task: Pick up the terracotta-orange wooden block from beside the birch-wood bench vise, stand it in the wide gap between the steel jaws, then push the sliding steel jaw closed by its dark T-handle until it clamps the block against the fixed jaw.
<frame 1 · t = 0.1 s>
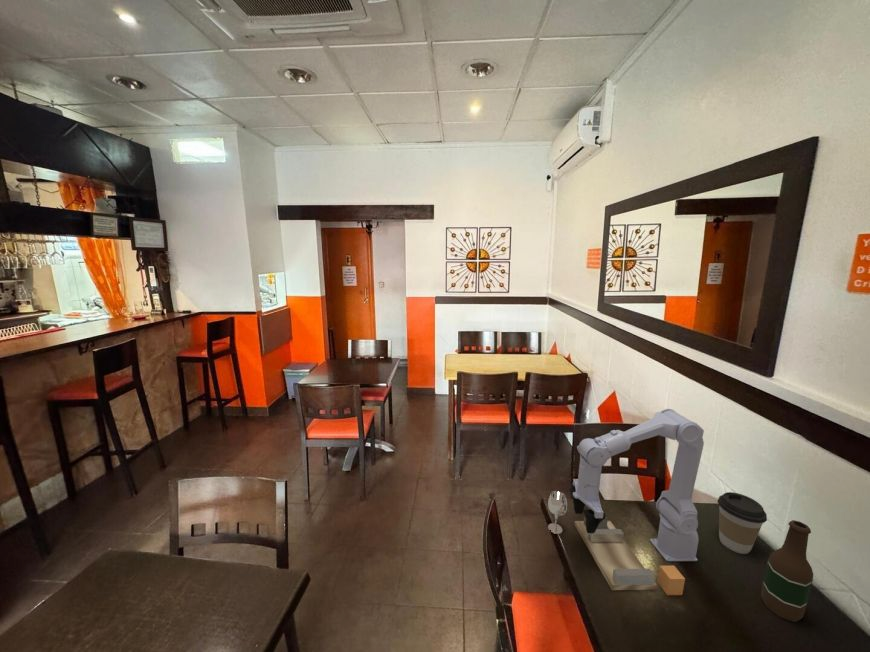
hand: (584, 522, 100), 10 cm above the table, tool pointing down, fingers open, 7 cm apart
coffee cup: (734, 545, 106), on the table
beer bottle: (780, 608, 86), on the table
wineglass: (555, 529, 111), on the table
moving jaw: (600, 528, 108), point 3 cm above the table, slide at 0.0 cm
vise bed: (612, 556, 101), on the table
fixed jaw: (633, 576, 91), on the vise bed, point 2 cm above the table
orange block: (669, 588, 91), on the table
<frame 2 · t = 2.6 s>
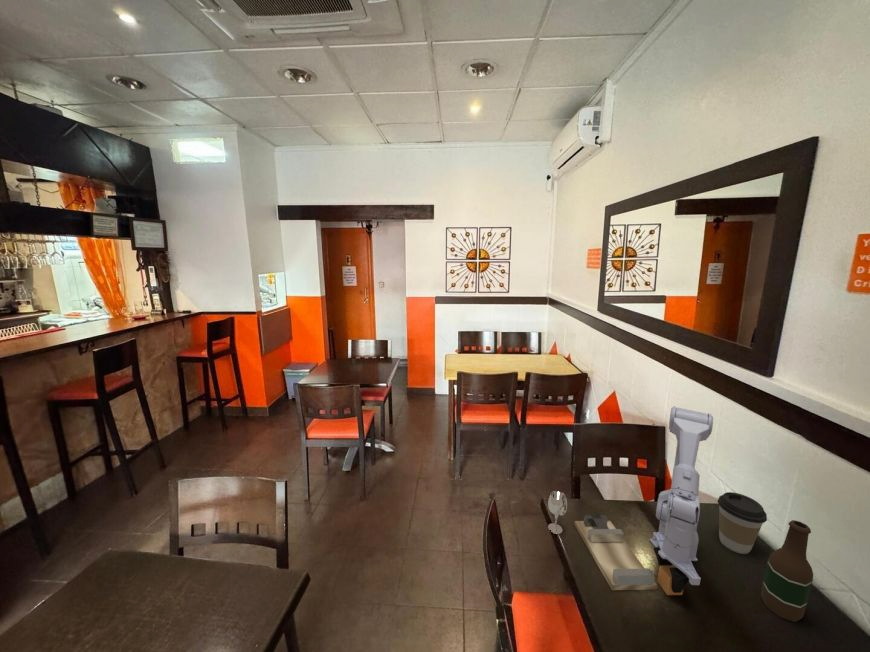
hand: (670, 583, 91), 1 cm above the table, tool pointing down, fingers closed on orange block, 4 cm apart
orange block: (669, 587, 91), on the table, touching gripper
everything else where it was.
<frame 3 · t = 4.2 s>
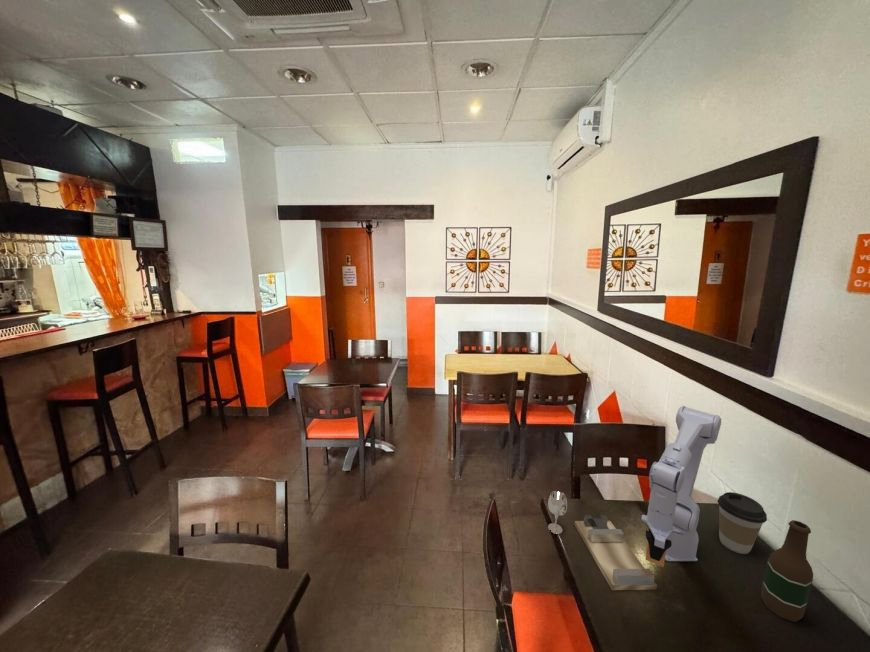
hand: (654, 552, 91), 9 cm above the table, tool pointing down, fingers closed on orange block, 4 cm apart
orange block: (654, 558, 92), point 7 cm above the table, touching gripper
everything else where it was.
when the fingers open (4 cm above the table, at t = 6.0 s): orange block stays where it is, resting on vise bed.
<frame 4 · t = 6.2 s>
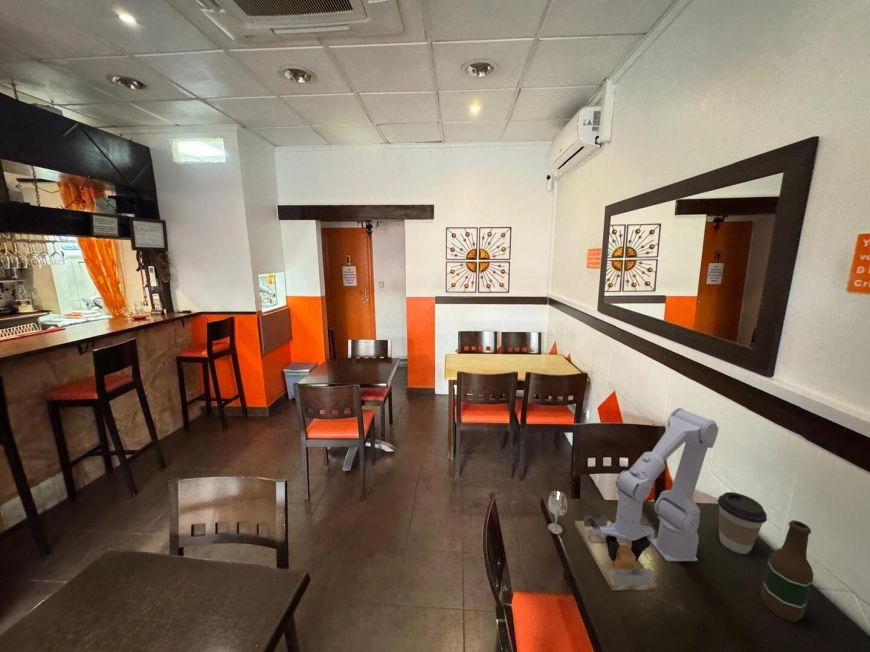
hand: (622, 558, 96), 4 cm above the table, tool pointing down, fingers open, 6 cm apart
orange block: (622, 566, 96), point 1 cm above the table, touching vise bed
everything else where it was.
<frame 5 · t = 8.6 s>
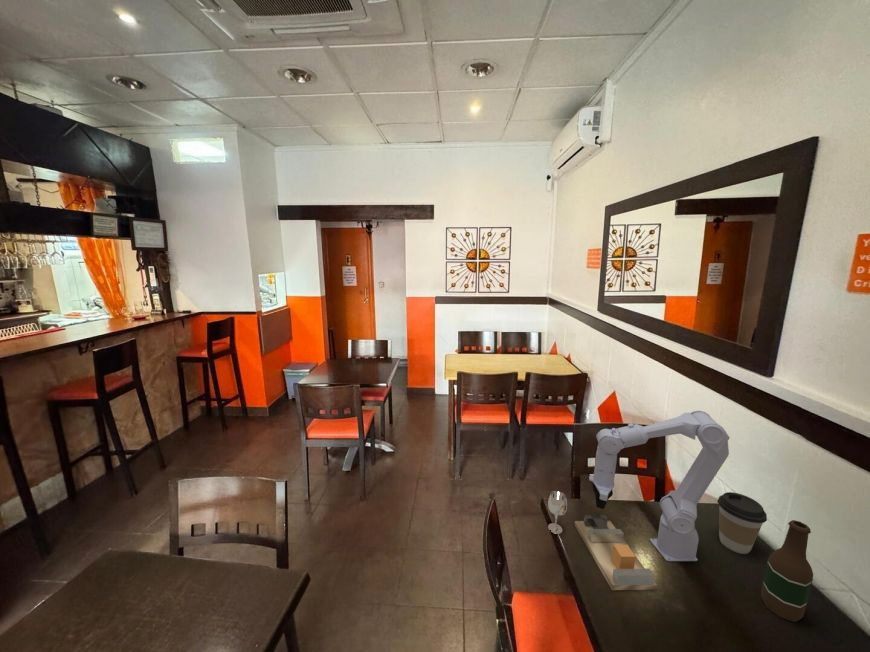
hand: (600, 506, 108), 9 cm above the table, tool pointing down, fingers closed
nothing on the table moved.
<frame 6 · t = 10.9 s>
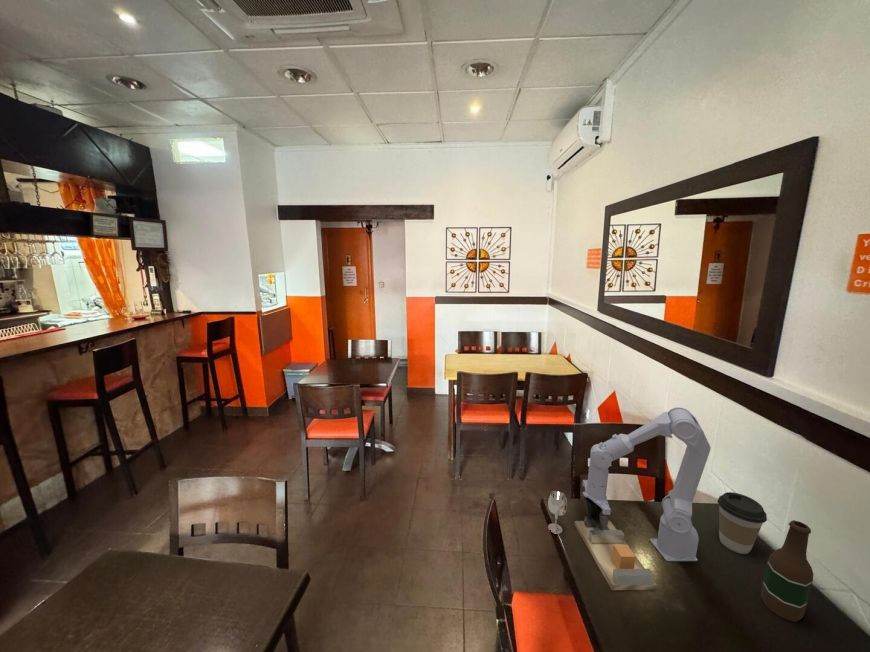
hand: (593, 518, 112), 2 cm above the table, tool pointing down, fingers closed
moving jaw: (601, 529, 107), point 3 cm above the table, slide at 0.4 cm, touching gripper
everything else where it was.
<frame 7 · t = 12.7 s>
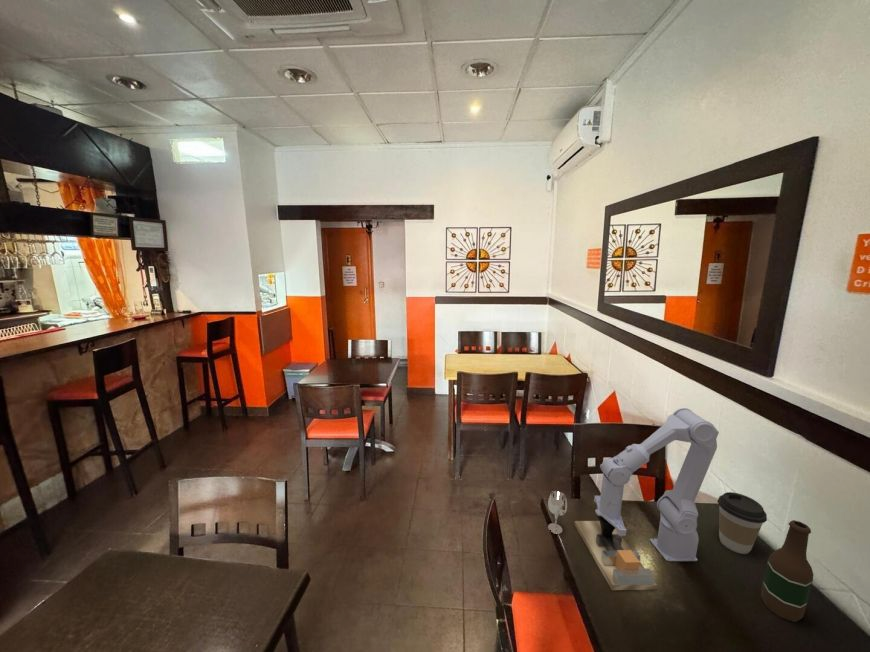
hand: (606, 538, 104), 2 cm above the table, tool pointing down, fingers closed
moving jaw: (614, 548, 100), point 3 cm above the table, slide at 8.0 cm, touching gripper, orange block
orange block: (626, 571, 94), point 2 cm above the table, touching fixed jaw, moving jaw, vise bed
everything else where it was.
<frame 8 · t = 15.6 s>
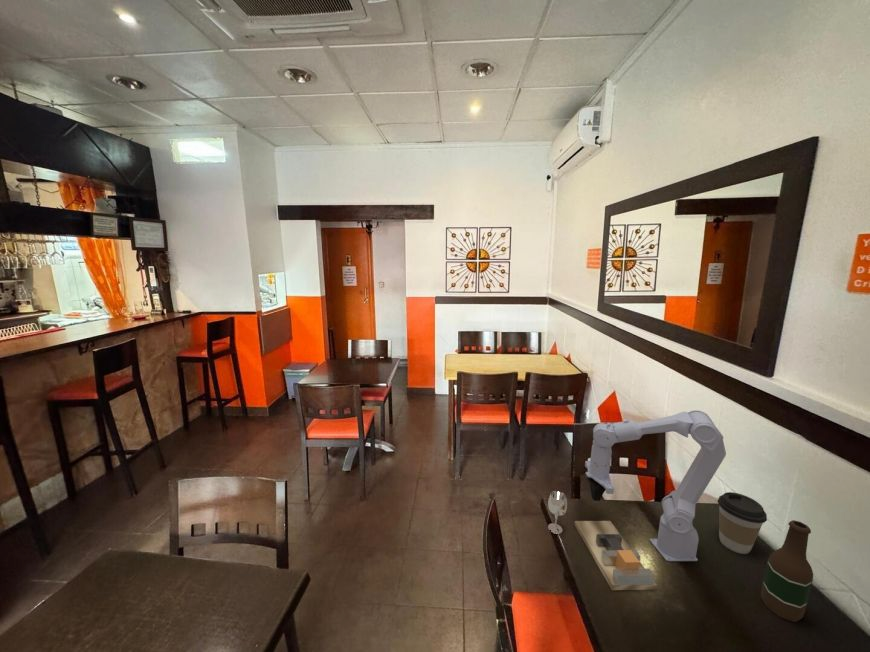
hand: (595, 499, 111), 10 cm above the table, tool pointing down, fingers closed
moving jaw: (614, 548, 100), point 3 cm above the table, slide at 8.0 cm, touching orange block
everything else where it was.
at the end: moving jaw slide at 8.0 cm; orange block 0.0 cm from the target spot, point 1.5 cm above the table; orange block tilted 0° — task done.
